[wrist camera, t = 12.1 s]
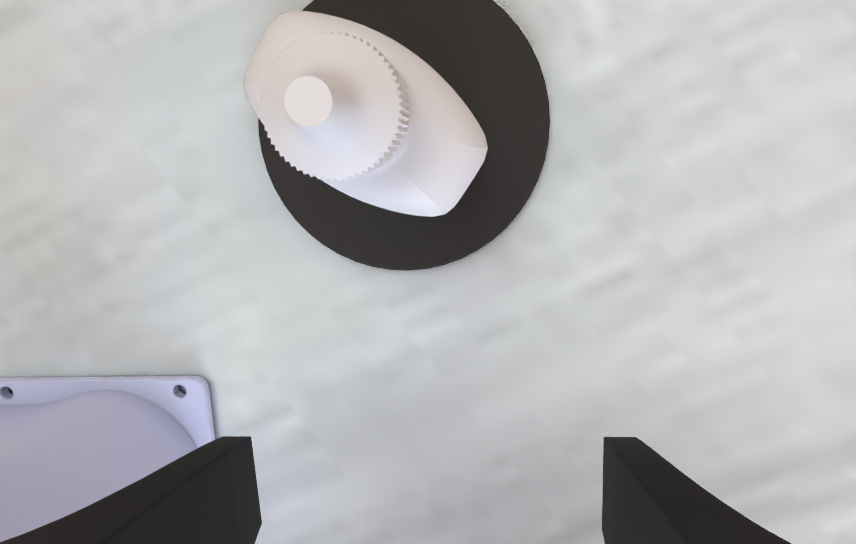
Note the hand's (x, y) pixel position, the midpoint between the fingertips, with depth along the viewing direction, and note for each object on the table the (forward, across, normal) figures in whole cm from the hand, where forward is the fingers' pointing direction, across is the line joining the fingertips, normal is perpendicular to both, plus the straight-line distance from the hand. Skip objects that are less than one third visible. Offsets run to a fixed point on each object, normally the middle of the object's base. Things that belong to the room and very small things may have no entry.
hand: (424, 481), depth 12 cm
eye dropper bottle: (+10, +2, -7) cm, 12 cm away
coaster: (+10, +1, -7) cm, 13 cm away
